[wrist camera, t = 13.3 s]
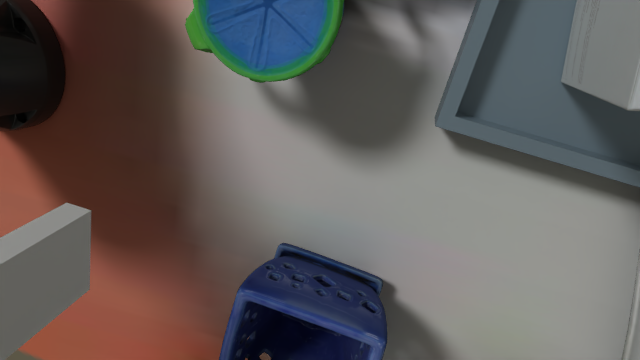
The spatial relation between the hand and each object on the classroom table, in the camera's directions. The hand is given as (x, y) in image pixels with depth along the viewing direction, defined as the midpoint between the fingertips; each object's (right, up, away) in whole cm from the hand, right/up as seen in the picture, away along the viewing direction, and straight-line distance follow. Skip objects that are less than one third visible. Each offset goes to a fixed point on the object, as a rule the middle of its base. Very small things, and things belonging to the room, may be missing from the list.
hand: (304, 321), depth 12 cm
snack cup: (-1, +19, +27) cm, 33 cm away
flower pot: (+1, -9, +36) cm, 37 cm away
